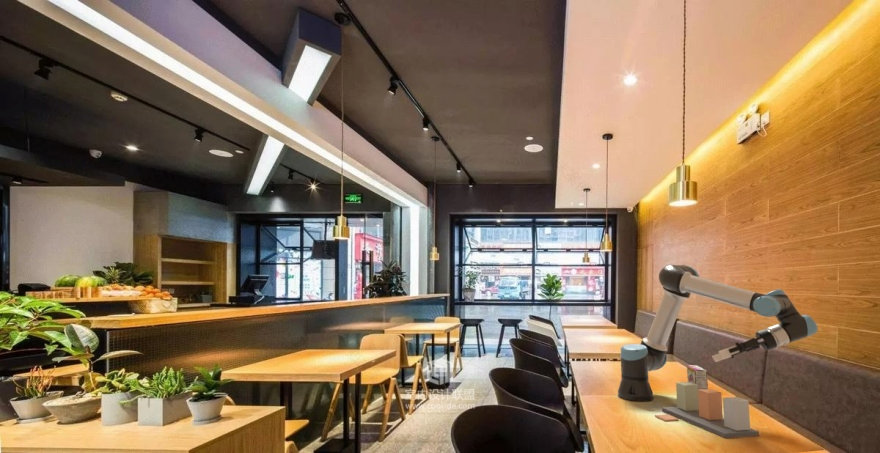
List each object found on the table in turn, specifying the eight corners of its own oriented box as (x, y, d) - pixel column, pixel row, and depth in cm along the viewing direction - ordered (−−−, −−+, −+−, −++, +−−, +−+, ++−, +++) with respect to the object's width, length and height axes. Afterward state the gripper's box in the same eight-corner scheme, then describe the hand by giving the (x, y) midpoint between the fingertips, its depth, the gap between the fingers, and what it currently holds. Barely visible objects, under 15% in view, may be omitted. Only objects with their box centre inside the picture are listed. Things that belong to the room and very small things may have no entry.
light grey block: (724, 426, 165) (722, 397, 166) (738, 425, 166) (736, 396, 167) (736, 430, 160) (734, 401, 161) (750, 429, 161) (748, 400, 162)
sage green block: (677, 407, 188) (676, 382, 189) (689, 406, 189) (688, 382, 190) (686, 410, 183) (684, 385, 184) (698, 410, 184) (697, 384, 186)
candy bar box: (687, 402, 202) (686, 364, 204) (700, 403, 201) (698, 365, 203) (696, 409, 191) (694, 369, 193) (709, 410, 190) (707, 370, 192)
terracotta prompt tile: (654, 416, 181) (654, 415, 181) (668, 415, 182) (668, 414, 182) (665, 421, 175) (665, 419, 175) (678, 420, 176) (678, 418, 176)
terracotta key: (699, 416, 176) (697, 389, 178) (712, 415, 178) (711, 389, 179) (709, 420, 172) (707, 392, 173) (722, 419, 173) (721, 392, 174)
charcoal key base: (662, 411, 188) (662, 407, 188) (691, 409, 191) (691, 406, 191) (725, 438, 157) (725, 433, 157) (759, 435, 160) (758, 431, 160)
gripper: (788, 341, 164) (729, 362, 168) (768, 351, 186) (716, 369, 190) (774, 322, 168) (717, 343, 172) (756, 334, 190) (706, 352, 193)
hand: (716, 357), depth 181 cm, fingers open, 13 cm apart
